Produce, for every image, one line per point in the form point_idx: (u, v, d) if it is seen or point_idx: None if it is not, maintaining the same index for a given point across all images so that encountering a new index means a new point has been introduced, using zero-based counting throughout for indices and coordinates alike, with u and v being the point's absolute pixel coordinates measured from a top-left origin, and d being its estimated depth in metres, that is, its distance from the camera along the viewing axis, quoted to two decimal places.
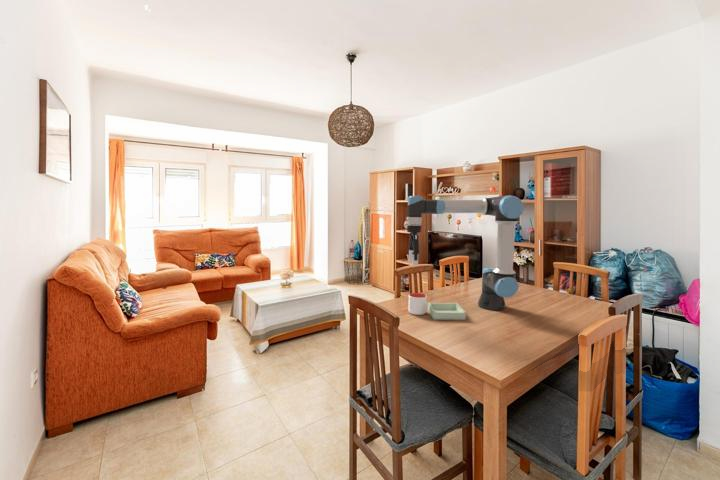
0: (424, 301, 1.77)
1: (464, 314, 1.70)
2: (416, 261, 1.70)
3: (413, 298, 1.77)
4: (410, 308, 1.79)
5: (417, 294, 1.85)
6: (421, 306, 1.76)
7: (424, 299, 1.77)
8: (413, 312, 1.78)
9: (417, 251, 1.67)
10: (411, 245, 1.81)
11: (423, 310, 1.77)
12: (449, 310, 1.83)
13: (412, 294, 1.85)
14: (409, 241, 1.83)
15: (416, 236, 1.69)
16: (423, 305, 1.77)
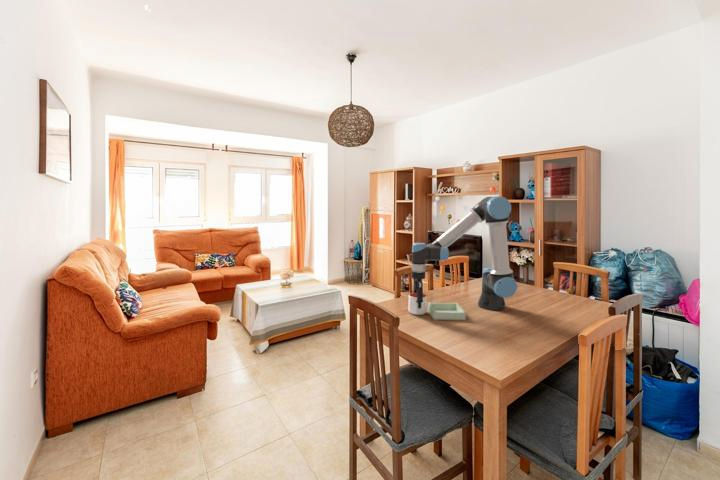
0: (424, 301, 1.77)
1: (464, 314, 1.70)
2: (420, 309, 1.76)
3: (413, 298, 1.77)
4: (410, 308, 1.79)
5: None
6: None
7: (424, 299, 1.77)
8: (413, 312, 1.78)
9: (421, 300, 1.72)
10: (415, 291, 1.84)
11: (423, 310, 1.77)
12: (449, 310, 1.83)
13: (412, 294, 1.85)
14: None
15: (420, 285, 1.73)
16: (423, 305, 1.77)
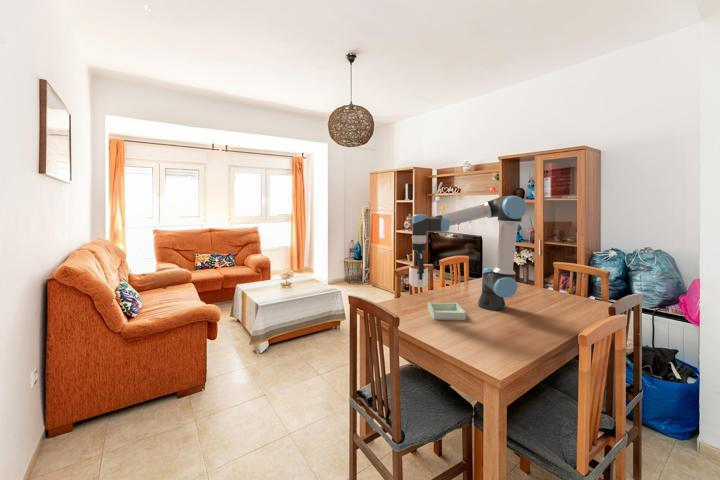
0: (425, 273, 1.75)
1: (464, 314, 1.70)
2: (421, 280, 1.74)
3: (414, 270, 1.75)
4: (411, 280, 1.77)
5: None
6: None
7: (425, 271, 1.75)
8: (414, 284, 1.76)
9: (422, 271, 1.70)
10: (416, 263, 1.83)
11: (424, 282, 1.75)
12: (449, 310, 1.83)
13: (413, 267, 1.83)
14: (414, 259, 1.85)
15: (421, 256, 1.71)
16: (424, 277, 1.75)
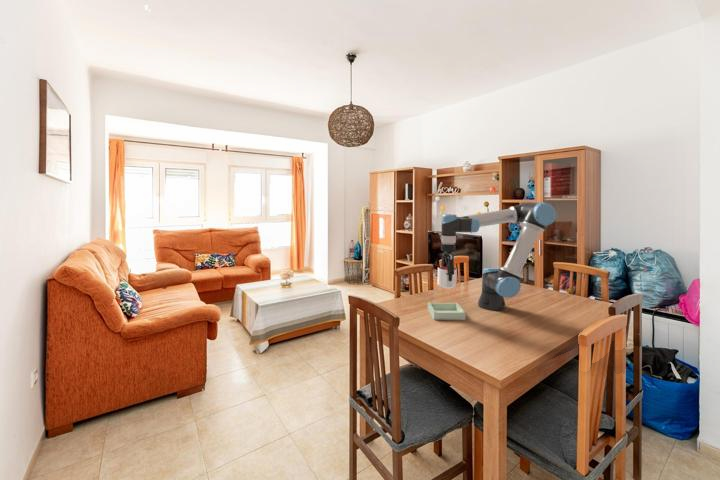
0: (454, 274, 1.72)
1: (464, 314, 1.70)
2: (450, 281, 1.71)
3: (443, 271, 1.72)
4: (440, 281, 1.74)
5: (446, 268, 1.80)
6: None
7: (454, 272, 1.72)
8: (443, 285, 1.73)
9: (452, 272, 1.67)
10: (444, 264, 1.80)
11: (453, 283, 1.72)
12: (449, 310, 1.83)
13: (441, 268, 1.80)
14: (442, 260, 1.82)
15: (451, 256, 1.68)
16: (453, 278, 1.72)
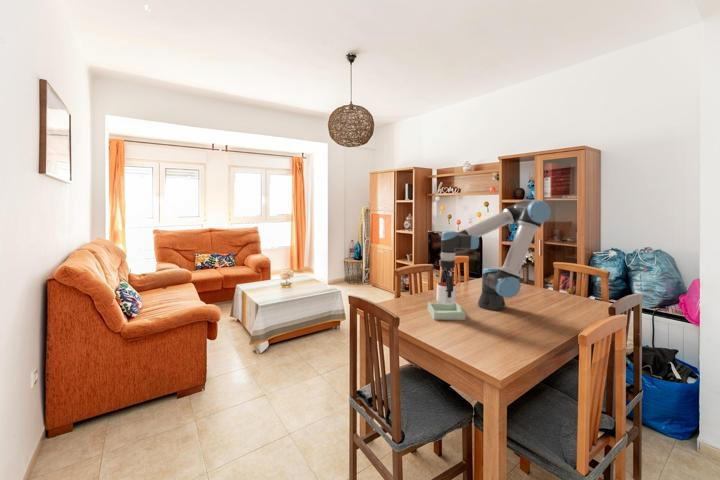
0: (454, 290, 1.73)
1: (464, 314, 1.70)
2: (449, 298, 1.72)
3: (442, 287, 1.73)
4: (439, 297, 1.75)
5: (445, 284, 1.81)
6: None
7: (454, 288, 1.73)
8: (442, 301, 1.74)
9: (451, 289, 1.68)
10: (444, 280, 1.81)
11: (452, 299, 1.73)
12: (449, 310, 1.83)
13: (440, 283, 1.81)
14: (441, 276, 1.83)
15: (451, 273, 1.69)
16: (452, 294, 1.73)
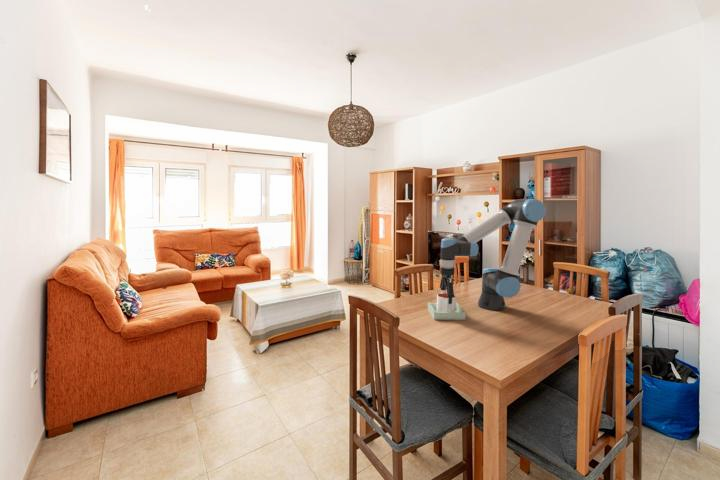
0: (453, 302, 1.74)
1: (464, 314, 1.70)
2: (450, 304, 1.71)
3: (442, 299, 1.74)
4: (439, 309, 1.76)
5: (445, 295, 1.82)
6: None
7: (453, 300, 1.74)
8: None
9: (452, 295, 1.67)
10: (443, 286, 1.82)
11: (452, 311, 1.74)
12: None
13: (440, 294, 1.82)
14: (441, 281, 1.84)
15: (450, 280, 1.70)
16: (452, 306, 1.74)
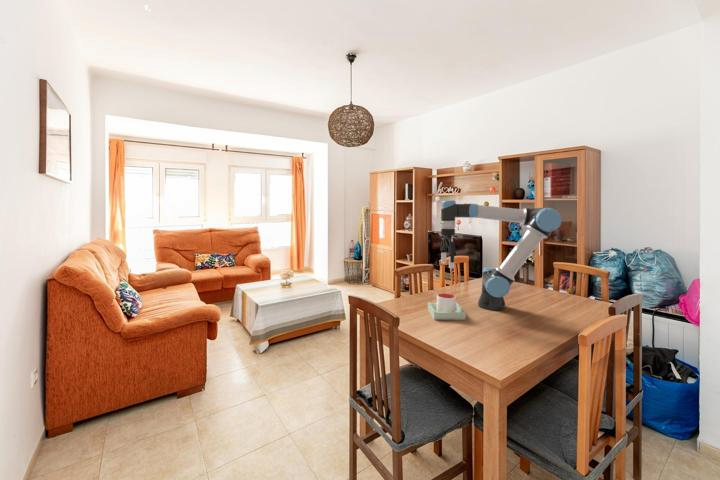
0: (453, 302, 1.74)
1: (464, 314, 1.70)
2: (452, 263, 1.77)
3: (442, 299, 1.74)
4: (439, 309, 1.76)
5: (445, 295, 1.82)
6: (450, 307, 1.73)
7: (453, 300, 1.74)
8: None
9: (454, 253, 1.74)
10: (444, 248, 1.88)
11: (452, 311, 1.74)
12: None
13: (440, 295, 1.82)
14: (441, 244, 1.90)
15: (452, 239, 1.76)
16: (452, 306, 1.74)
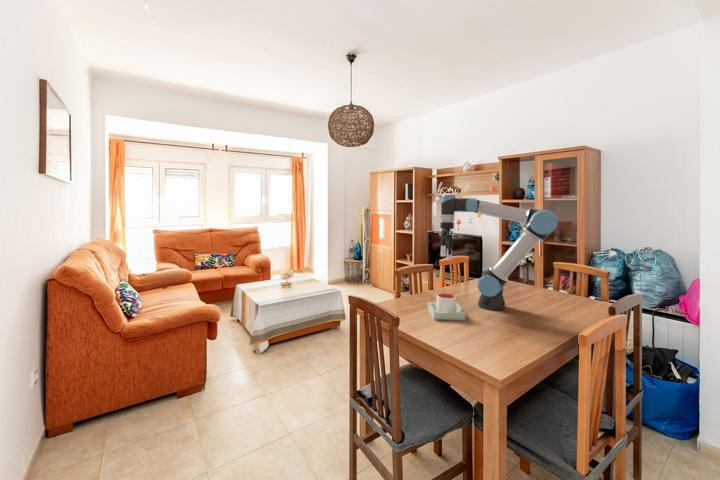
0: (453, 302, 1.74)
1: (464, 314, 1.70)
2: (450, 255, 1.83)
3: (442, 299, 1.74)
4: (439, 309, 1.76)
5: (445, 295, 1.82)
6: (450, 307, 1.73)
7: (453, 300, 1.74)
8: None
9: (451, 246, 1.80)
10: (443, 241, 1.94)
11: (452, 311, 1.74)
12: None
13: (440, 295, 1.82)
14: (441, 237, 1.96)
15: (450, 232, 1.82)
16: (452, 306, 1.74)
